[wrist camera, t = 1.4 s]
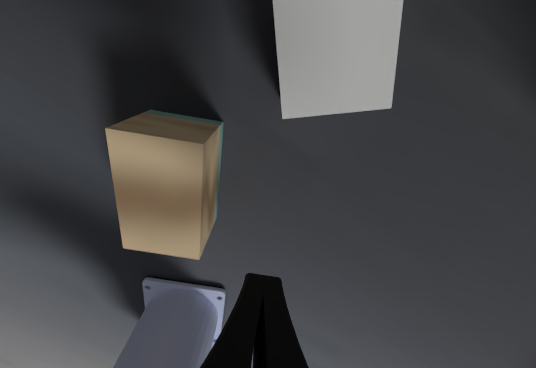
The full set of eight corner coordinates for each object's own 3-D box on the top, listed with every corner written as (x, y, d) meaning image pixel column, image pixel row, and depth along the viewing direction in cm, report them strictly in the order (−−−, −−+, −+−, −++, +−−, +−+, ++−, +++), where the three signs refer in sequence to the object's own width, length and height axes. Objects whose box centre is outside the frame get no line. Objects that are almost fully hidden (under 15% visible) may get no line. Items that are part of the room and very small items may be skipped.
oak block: (217, 216, 21) (199, 259, 16) (157, 207, 21) (122, 248, 16) (223, 121, 17) (203, 144, 13) (151, 109, 17) (105, 128, 13)
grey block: (360, 93, 16) (391, 108, 11) (282, 101, 16) (282, 119, 12) (366, -3, 14) (406, -31, 9) (275, 10, 14) (271, -11, 10)
